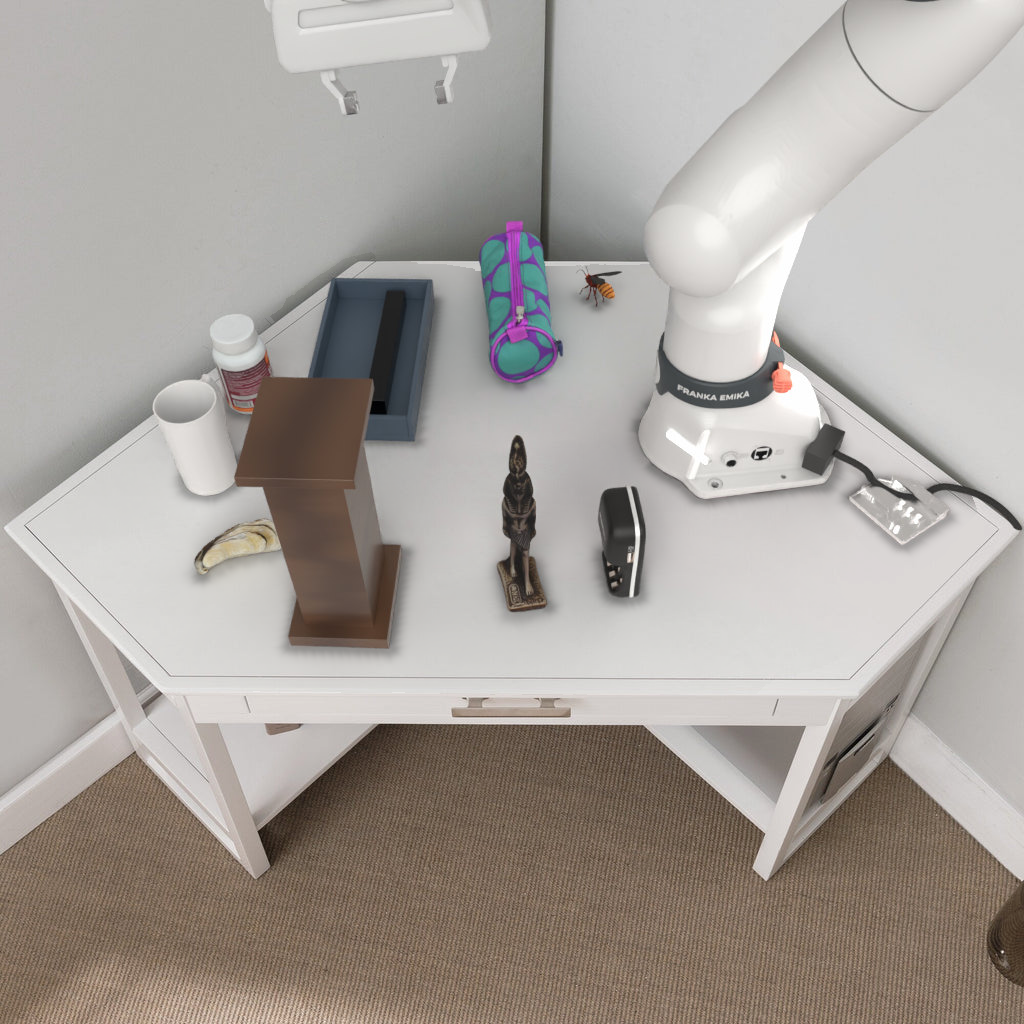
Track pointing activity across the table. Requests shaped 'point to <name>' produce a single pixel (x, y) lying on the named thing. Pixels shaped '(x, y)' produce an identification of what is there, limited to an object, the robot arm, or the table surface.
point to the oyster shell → (238, 543)
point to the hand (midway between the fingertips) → (398, 107)
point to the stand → (323, 507)
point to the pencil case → (517, 305)
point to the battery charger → (622, 539)
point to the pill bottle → (239, 360)
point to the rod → (387, 350)
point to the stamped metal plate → (900, 508)
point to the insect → (600, 285)
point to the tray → (354, 339)
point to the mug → (197, 434)
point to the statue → (520, 536)
